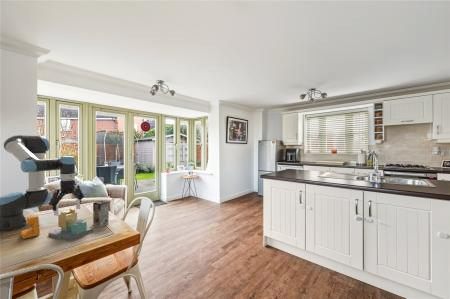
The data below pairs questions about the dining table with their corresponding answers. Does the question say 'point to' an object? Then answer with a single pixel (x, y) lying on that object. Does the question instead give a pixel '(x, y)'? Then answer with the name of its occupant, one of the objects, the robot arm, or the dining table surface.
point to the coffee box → (100, 213)
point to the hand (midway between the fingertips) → (67, 212)
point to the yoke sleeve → (67, 218)
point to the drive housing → (72, 231)
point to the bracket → (35, 227)
